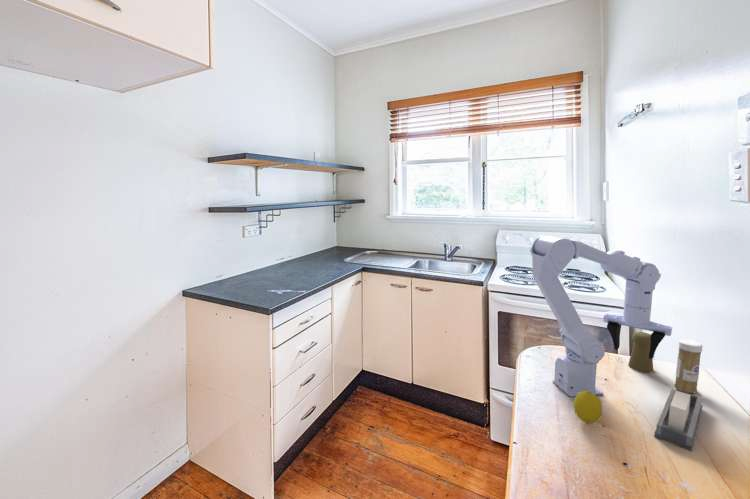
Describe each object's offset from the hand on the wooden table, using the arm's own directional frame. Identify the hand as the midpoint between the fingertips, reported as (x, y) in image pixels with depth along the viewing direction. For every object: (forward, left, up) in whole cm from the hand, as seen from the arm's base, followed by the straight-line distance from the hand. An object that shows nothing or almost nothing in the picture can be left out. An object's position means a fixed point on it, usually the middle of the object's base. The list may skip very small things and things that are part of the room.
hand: (633, 352), depth 91 cm
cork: (+10, +8, -10) cm, 16 cm away
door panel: (-4, -18, -8) cm, 20 cm away
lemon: (-23, -14, -10) cm, 28 cm away
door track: (-2, -16, -9) cm, 18 cm away
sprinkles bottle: (+12, -4, -10) cm, 16 cm away
